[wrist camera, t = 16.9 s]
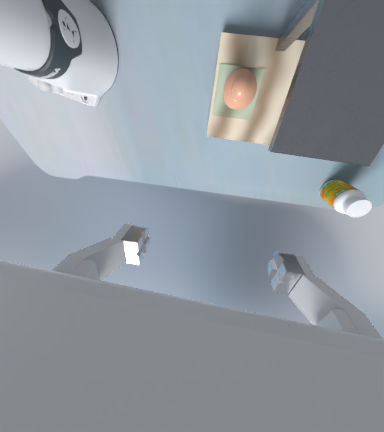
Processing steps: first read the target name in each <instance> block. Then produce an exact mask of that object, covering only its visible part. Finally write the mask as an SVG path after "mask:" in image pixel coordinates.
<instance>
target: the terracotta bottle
mask: <svg viewBox="0 0 384 432" xmlns="http://www.w3.org/2000/svg"><path fill="white" fill-rule="evenodd" d="M256 91H257V81H256V78H255V76H254V74H253V73H252V72H251V71H249V70H247V69H239V70H236V71H234V72H233V73H232V74H231V75H230V76H229V77H228V79H227V80H226V82H225V85H224V90H223V100H224V103H225V105H226V106H227V107H228V108H230V109H235V110H239V109H243V108H245V107H247V106H248V105H249V104H250V103H251V102H252V101H253V99H254V97H255V95H256Z"/></svg>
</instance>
